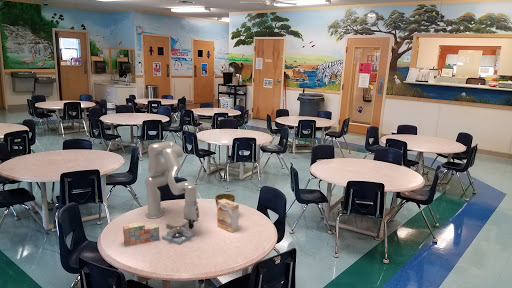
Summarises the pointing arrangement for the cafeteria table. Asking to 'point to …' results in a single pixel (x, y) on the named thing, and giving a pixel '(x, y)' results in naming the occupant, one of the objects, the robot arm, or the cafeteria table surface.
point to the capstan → (178, 230)
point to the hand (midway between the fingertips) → (191, 228)
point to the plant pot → (225, 197)
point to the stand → (179, 239)
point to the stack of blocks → (140, 233)
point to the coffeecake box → (227, 215)
